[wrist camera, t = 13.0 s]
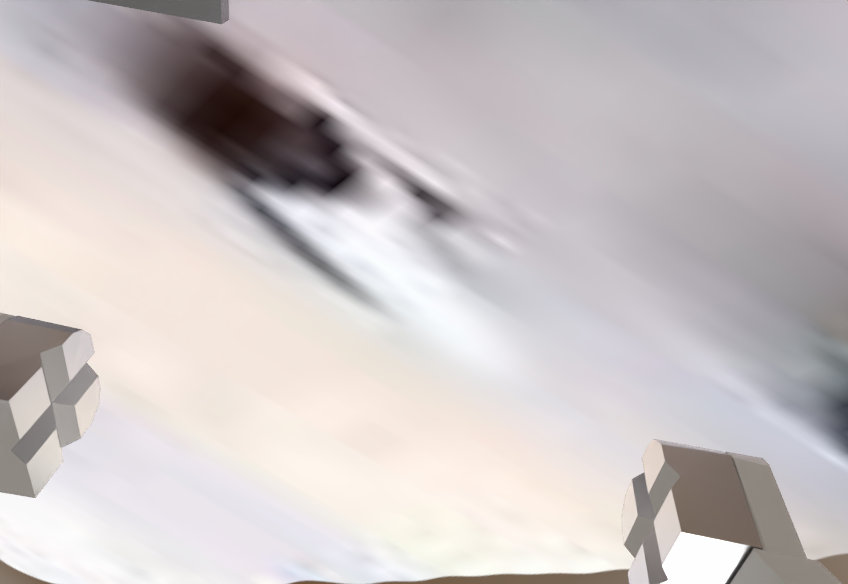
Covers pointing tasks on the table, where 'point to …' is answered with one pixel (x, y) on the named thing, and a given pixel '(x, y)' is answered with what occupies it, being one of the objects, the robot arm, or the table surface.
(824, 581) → the robot arm
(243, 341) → the table surface
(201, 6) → the grey mallet
